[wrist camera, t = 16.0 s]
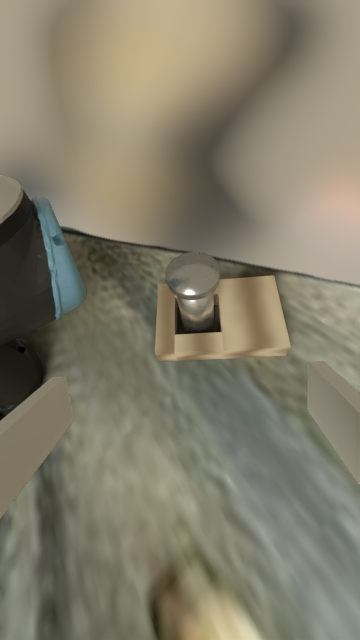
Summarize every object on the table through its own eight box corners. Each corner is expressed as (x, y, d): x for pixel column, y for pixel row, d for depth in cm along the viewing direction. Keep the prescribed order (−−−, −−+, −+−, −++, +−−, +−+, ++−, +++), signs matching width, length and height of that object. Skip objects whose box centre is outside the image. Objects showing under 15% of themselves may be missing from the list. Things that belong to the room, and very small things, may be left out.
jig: (158, 361, 40) (154, 353, 37) (161, 295, 46) (158, 284, 44) (285, 355, 38) (290, 346, 36) (270, 287, 44) (274, 275, 42)
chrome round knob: (178, 343, 41) (164, 295, 31) (178, 308, 44) (166, 254, 34) (220, 341, 40) (222, 291, 30) (217, 305, 44) (217, 249, 33)
